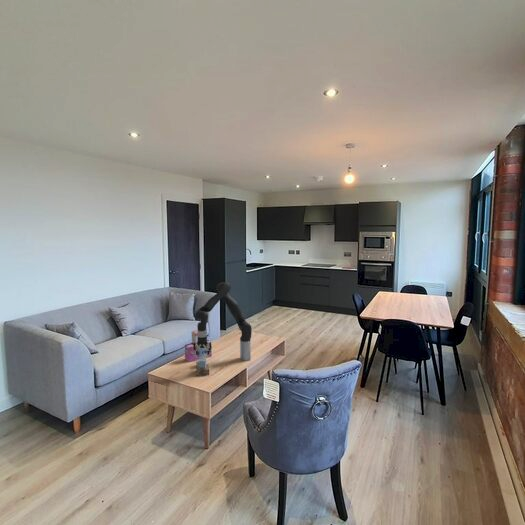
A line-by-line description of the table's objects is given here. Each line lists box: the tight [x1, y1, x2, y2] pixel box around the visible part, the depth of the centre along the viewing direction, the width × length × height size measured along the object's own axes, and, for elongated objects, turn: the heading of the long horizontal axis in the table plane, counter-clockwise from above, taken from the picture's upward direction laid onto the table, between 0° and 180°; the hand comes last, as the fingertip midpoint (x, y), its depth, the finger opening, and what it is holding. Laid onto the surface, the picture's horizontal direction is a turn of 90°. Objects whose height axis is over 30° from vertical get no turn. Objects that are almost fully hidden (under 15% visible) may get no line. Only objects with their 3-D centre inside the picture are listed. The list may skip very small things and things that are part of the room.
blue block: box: [199, 358, 207, 368], centre depth 257 cm, size 5×5×6 cm
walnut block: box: [195, 363, 210, 377], centre depth 258 cm, size 10×10×5 cm
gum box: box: [184, 339, 213, 363], centre depth 287 cm, size 24×8×14 cm, turn 125°
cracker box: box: [191, 328, 208, 343], centre depth 301 cm, size 14×6×21 cm, turn 142°
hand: (202, 354), depth 256 cm, fingers open, 8 cm apart
